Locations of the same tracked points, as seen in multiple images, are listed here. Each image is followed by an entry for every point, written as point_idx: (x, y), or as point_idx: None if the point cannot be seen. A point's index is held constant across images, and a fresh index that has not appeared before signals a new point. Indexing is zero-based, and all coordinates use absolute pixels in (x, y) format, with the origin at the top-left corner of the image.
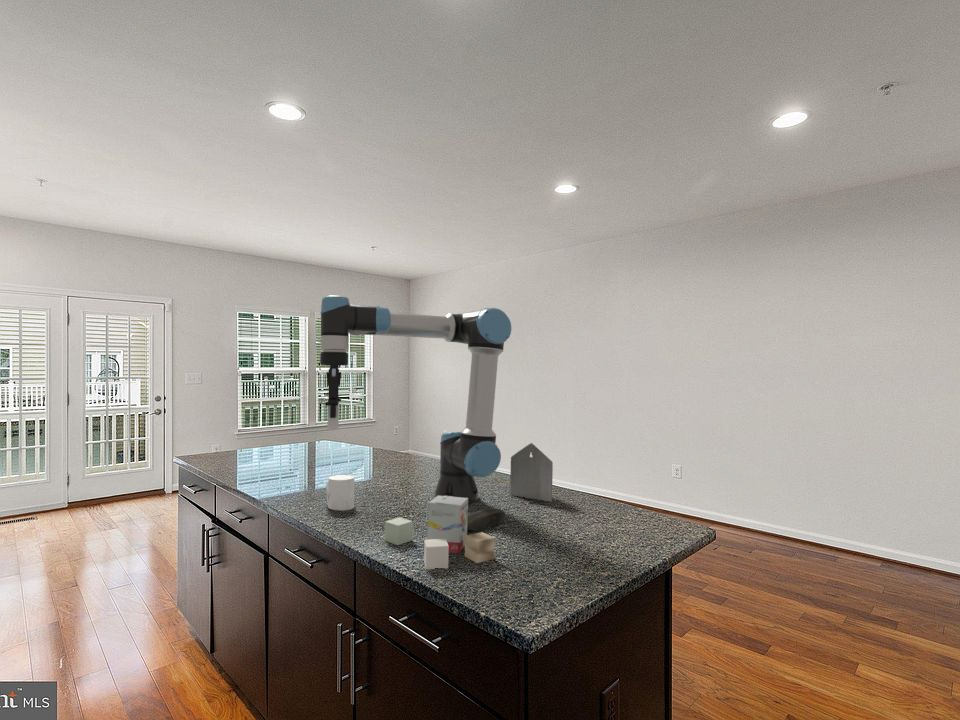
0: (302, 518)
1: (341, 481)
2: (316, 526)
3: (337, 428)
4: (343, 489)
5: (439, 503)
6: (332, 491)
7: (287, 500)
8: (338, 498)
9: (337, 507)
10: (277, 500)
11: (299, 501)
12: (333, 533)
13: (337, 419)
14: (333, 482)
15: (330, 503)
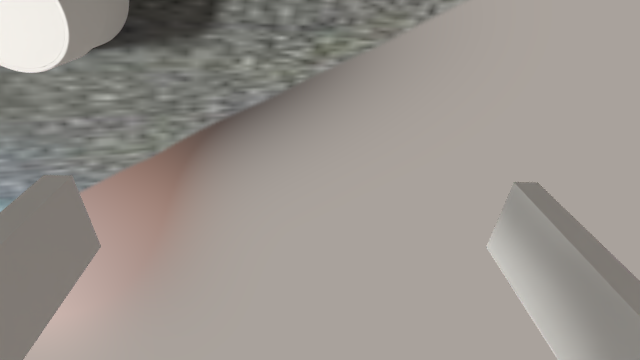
0: (215, 115)
1: (69, 16)
2: (294, 79)
3: (542, 194)
4: (88, 2)
5: None
6: (91, 45)
7: (26, 161)
8: (108, 17)
9: (123, 16)
10: (32, 184)
11: (31, 131)
12: (367, 34)
13: (602, 254)
14: (73, 50)
15: (103, 42)
